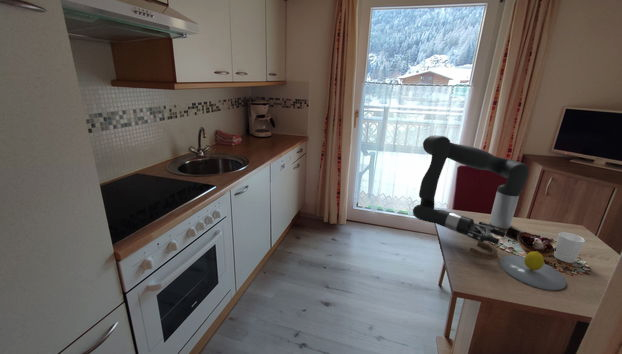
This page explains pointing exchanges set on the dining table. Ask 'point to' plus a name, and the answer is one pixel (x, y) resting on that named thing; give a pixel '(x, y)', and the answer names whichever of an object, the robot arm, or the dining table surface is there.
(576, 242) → the white cup
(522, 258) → the plate
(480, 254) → the lemon holder
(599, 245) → the dining table surface
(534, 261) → the lemon
